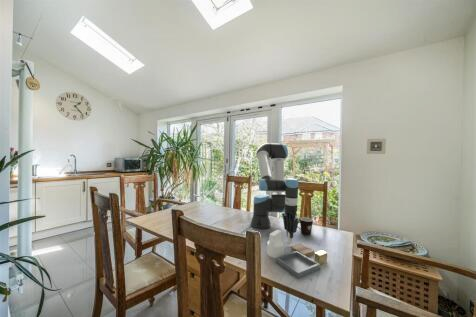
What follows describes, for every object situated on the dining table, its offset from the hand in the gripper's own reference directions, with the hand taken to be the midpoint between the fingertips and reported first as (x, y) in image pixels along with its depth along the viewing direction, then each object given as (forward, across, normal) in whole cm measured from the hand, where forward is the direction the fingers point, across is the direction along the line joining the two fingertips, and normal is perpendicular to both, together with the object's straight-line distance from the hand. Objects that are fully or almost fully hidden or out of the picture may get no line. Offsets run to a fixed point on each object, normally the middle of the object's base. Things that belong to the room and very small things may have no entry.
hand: (289, 242), depth 123 cm
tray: (+2, +18, -13) cm, 23 cm away
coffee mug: (+2, -8, +22) cm, 24 cm away
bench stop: (+2, +22, 0) cm, 22 cm away
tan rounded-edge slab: (+2, +10, 0) cm, 10 cm away
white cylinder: (+2, +4, -15) cm, 15 cm away
